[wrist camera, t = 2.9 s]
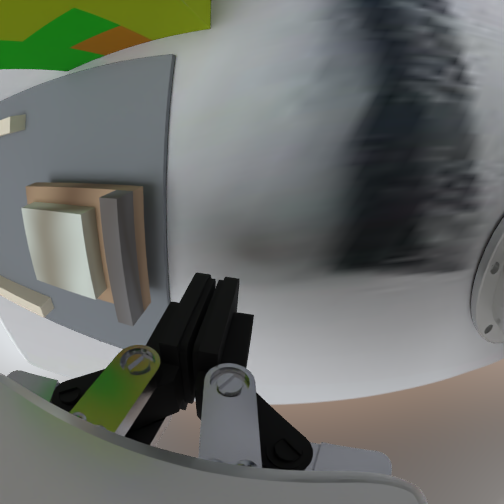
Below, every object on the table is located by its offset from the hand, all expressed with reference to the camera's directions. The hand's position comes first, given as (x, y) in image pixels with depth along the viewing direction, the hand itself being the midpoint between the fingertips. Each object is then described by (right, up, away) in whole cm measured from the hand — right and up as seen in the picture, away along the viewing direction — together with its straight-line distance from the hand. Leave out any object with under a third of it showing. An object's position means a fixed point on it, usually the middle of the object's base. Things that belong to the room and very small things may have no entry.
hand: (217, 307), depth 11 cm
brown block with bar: (-9, +3, +5) cm, 11 cm away
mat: (-16, +5, +6) cm, 18 cm away
